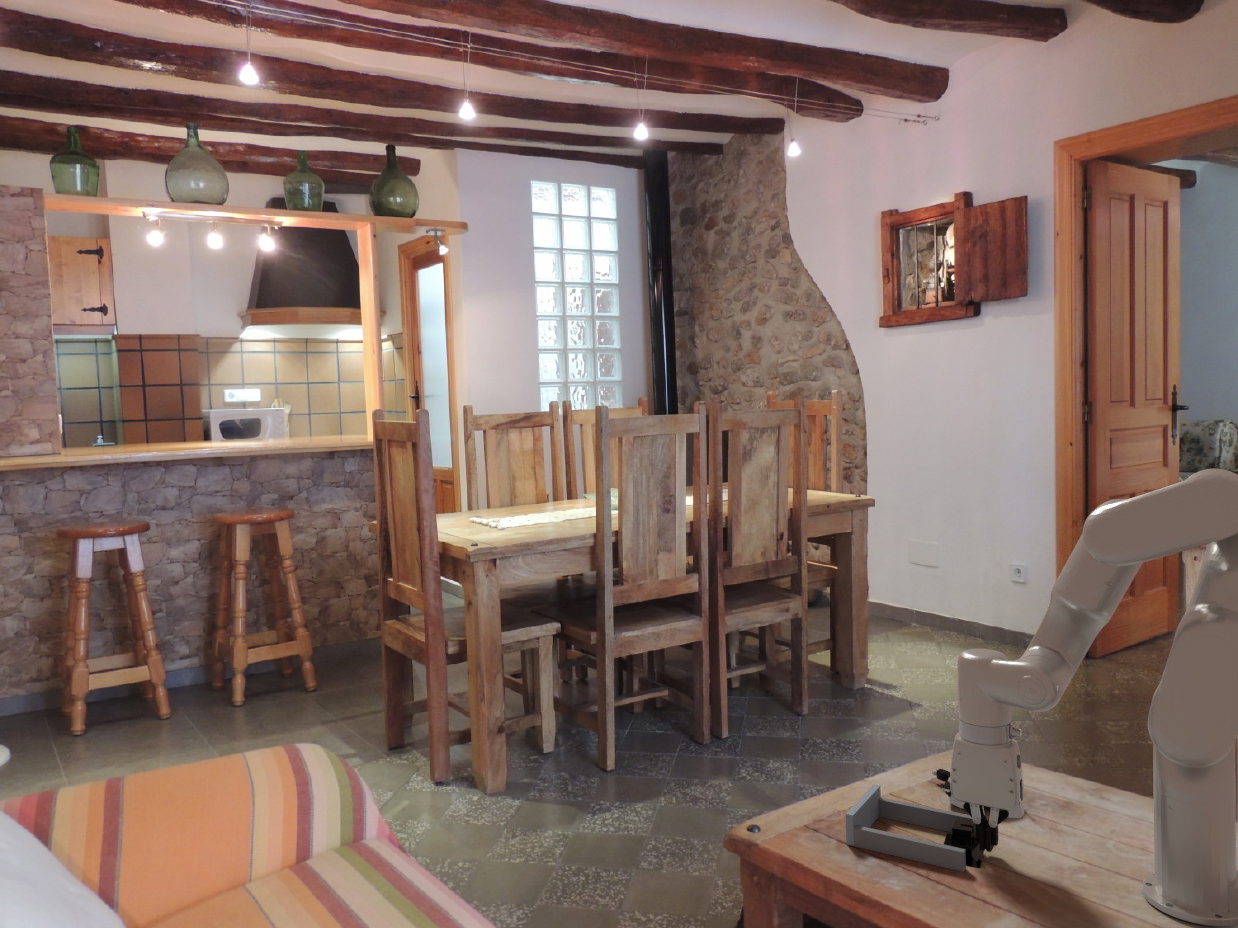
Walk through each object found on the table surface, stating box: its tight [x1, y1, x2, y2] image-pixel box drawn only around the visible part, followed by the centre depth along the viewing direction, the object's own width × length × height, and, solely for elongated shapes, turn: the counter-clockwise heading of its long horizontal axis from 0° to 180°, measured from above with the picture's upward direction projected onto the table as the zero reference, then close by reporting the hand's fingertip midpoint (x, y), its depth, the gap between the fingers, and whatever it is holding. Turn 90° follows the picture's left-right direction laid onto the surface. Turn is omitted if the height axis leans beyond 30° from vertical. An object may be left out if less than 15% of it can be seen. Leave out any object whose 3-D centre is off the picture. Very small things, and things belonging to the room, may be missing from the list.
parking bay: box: [845, 784, 976, 873], centre depth 145 cm, size 18×14×5 cm
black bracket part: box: [943, 819, 985, 869], centre depth 141 cm, size 12×7×5 cm, turn 153°
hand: (987, 847), depth 139 cm, fingers closed
